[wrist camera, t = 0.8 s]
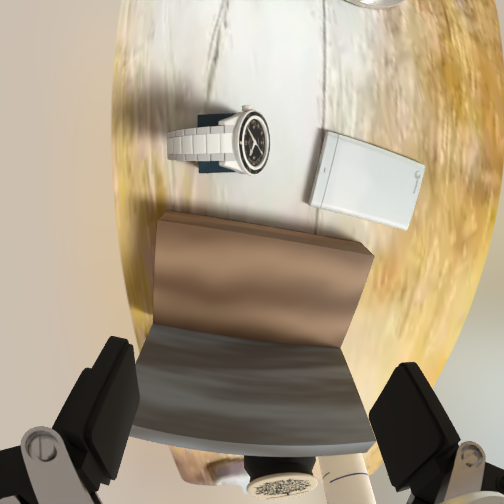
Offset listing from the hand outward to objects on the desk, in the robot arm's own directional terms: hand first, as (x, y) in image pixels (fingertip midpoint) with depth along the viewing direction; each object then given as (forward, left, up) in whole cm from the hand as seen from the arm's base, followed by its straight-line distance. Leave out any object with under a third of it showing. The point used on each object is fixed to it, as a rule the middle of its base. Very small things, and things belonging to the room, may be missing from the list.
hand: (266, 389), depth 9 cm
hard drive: (-6, +12, -25) cm, 28 cm away
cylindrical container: (+35, +21, -24) cm, 47 cm away
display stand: (+8, +2, -24) cm, 25 cm away
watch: (-7, -4, -24) cm, 25 cm away
